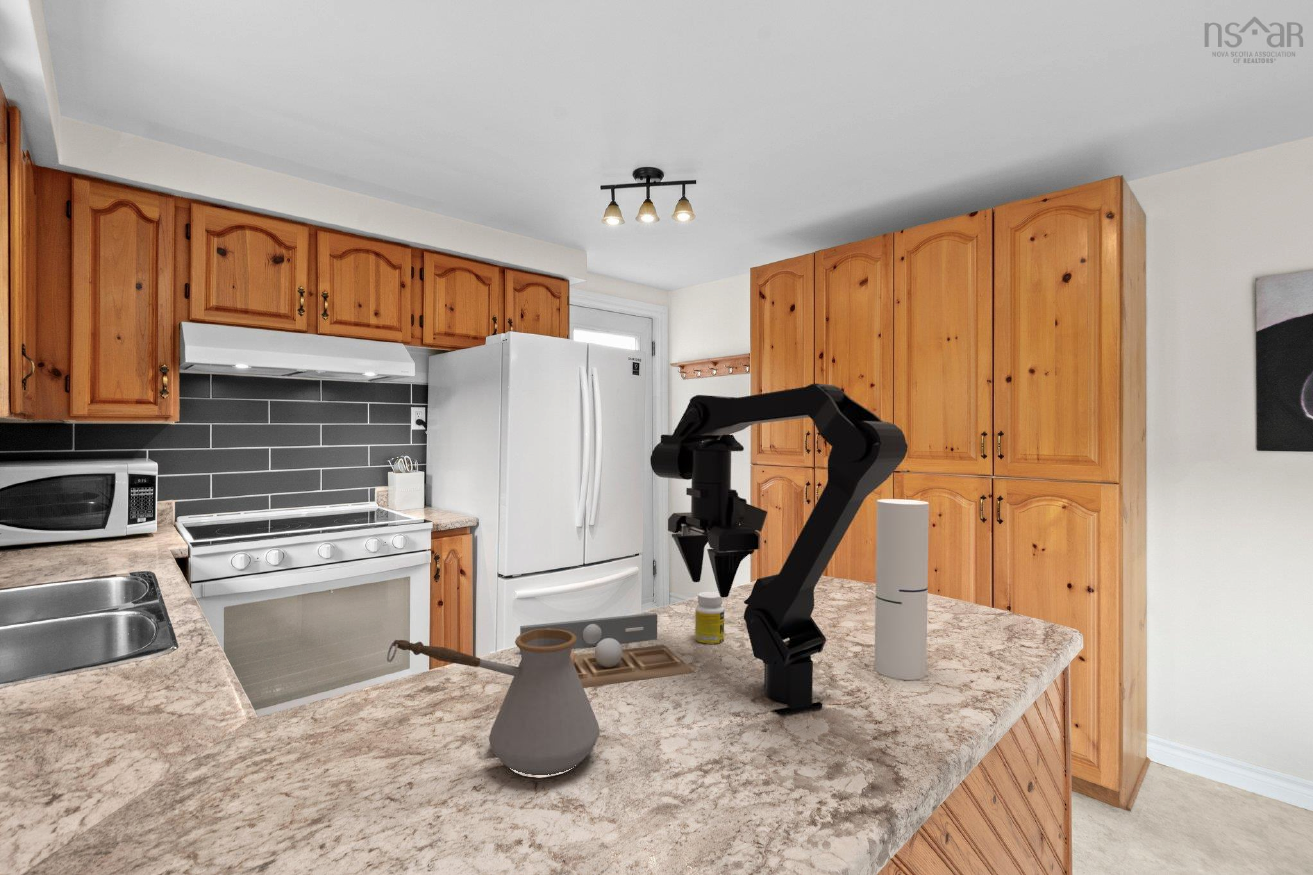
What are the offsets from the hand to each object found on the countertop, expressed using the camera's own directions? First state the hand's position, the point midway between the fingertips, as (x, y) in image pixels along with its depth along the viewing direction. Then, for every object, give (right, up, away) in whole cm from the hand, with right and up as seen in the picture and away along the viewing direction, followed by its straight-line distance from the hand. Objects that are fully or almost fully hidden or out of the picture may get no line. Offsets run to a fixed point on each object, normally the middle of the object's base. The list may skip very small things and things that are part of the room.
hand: (709, 589), depth 91 cm
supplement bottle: (+1, -12, +11) cm, 17 cm away
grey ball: (-15, -11, -1) cm, 18 cm away
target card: (-18, -12, +8) cm, 23 cm away
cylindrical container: (+28, -13, +1) cm, 31 cm away
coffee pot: (-24, -12, -27) cm, 38 cm away
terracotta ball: (-21, -11, -4) cm, 24 cm away
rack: (-15, -12, -1) cm, 19 cm away
